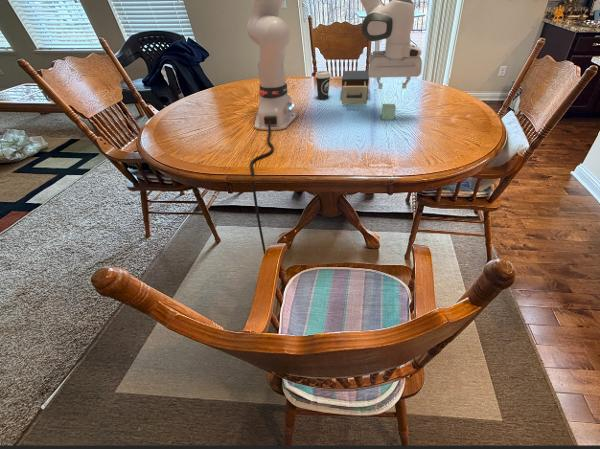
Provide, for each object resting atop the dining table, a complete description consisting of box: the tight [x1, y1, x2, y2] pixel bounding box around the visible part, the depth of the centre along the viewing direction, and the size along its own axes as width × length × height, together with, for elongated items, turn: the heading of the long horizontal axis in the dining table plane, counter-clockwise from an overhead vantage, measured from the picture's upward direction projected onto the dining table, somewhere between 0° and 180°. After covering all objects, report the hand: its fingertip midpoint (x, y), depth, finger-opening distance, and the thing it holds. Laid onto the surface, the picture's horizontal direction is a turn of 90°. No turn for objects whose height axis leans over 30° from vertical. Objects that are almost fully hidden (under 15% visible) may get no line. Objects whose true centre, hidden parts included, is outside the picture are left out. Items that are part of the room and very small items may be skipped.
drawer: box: [341, 81, 369, 105], centre depth 145 cm, size 18×12×8 cm, turn 171°
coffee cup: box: [314, 70, 331, 100], centre depth 152 cm, size 8×8×12 cm
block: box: [381, 103, 397, 121], centre depth 131 cm, size 5×5×5 cm
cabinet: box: [340, 70, 370, 101], centre depth 154 cm, size 15×13×10 cm
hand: (392, 88), depth 124 cm, fingers open, 8 cm apart
